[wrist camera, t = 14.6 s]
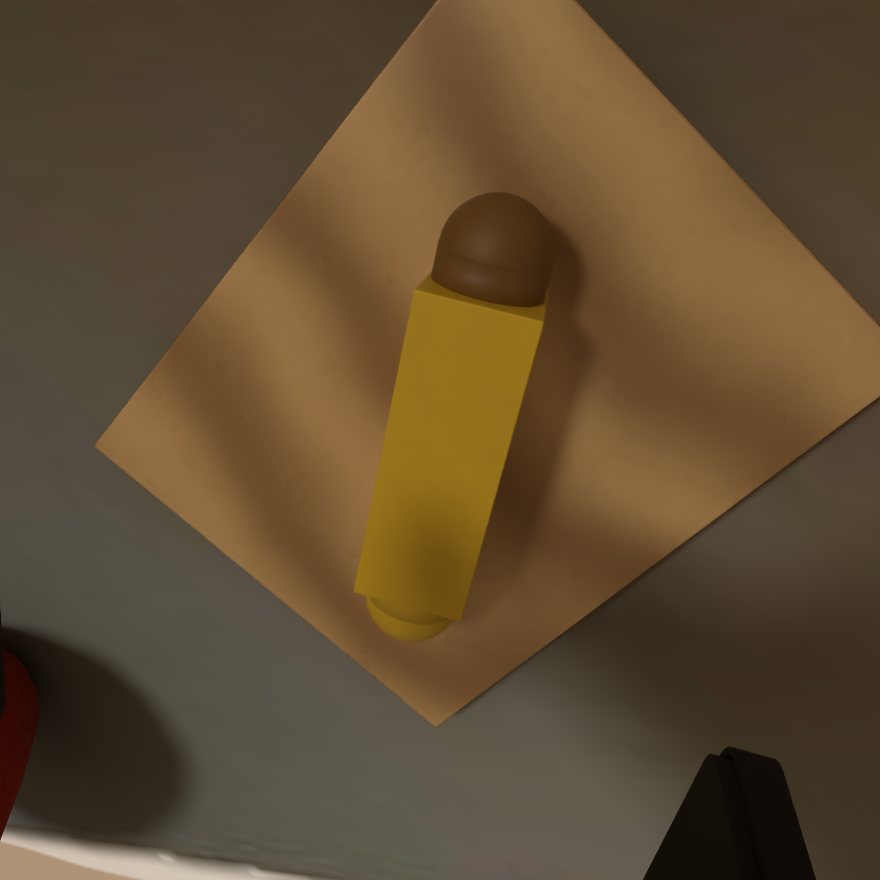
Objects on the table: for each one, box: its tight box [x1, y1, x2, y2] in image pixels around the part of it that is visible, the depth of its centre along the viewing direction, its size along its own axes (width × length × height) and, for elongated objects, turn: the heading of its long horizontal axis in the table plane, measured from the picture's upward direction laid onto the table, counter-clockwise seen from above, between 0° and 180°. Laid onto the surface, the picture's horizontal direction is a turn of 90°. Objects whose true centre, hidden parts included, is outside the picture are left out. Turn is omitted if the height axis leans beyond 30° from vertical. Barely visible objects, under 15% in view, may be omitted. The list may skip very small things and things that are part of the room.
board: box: [95, 0, 880, 727], centre depth 24 cm, size 20×16×2 cm
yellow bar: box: [354, 192, 555, 642], centre depth 22 cm, size 14×3×4 cm, turn 168°
